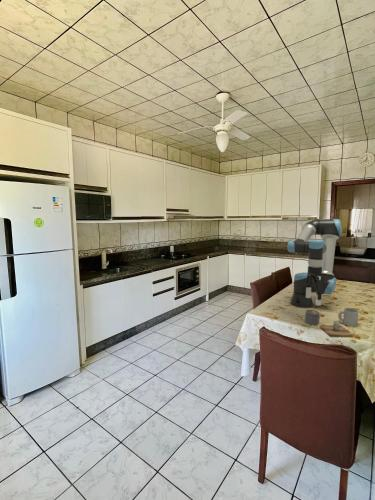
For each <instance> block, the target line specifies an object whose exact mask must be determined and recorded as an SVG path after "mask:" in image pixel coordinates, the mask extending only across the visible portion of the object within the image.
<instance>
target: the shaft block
mask: <svg viewBox="0 0 375 500" xmlns="http://www.w3.org/2000/svg"><path fill="white" fill-rule="evenodd" d="M319 328H320V329H321V330H322V331H323V332H324V333H325V334H326V335H328V337H329V338H354V334H353V333H352V332H350V331H349V330H348V329H346V328H345V327H344V326H342V325H340V320H335V319H334V320H333V324H332V325H324V324H323V325H321V324H319Z"/></svg>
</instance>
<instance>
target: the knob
mask: <svg viewBox="0 0 375 500" xmlns="http://www.w3.org/2000/svg"><path fill="white" fill-rule="evenodd" d="M304 315H305V316H304V322H305V324H306V325H308V324H309V326H312V325H314V326H313V327H315V325H317V326H319V325H320V312H319V311H318V310H314V309H306V310H305V313H304ZM318 324H319V325H318Z"/></svg>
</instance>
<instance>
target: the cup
mask: <svg viewBox="0 0 375 500" xmlns="http://www.w3.org/2000/svg"><path fill="white" fill-rule="evenodd" d="M342 314H343V318H342ZM337 317H338V320H339V321H341V322H342V323H343V325H344V324H345V326H346V325H347V327H350V326H352V327H351V328H356V327H357V326H358V324H359V323H358V322H359V310H358V309H356V308H351V307H345V308H344V309H343V310H339V312H338V314H337ZM355 326H356V327H355Z"/></svg>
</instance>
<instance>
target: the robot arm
mask: <svg viewBox="0 0 375 500" xmlns="http://www.w3.org/2000/svg"><path fill="white" fill-rule="evenodd" d="M342 231H343V229H342V221H341V219H337V218H325V219H324V218H320V219H319V218H316V219H312V220H310V221H308V222H306V223H304V225H303V226H302V227H301V231H300V233H299V234H298V235H297V237H296V238H295V239H294V240H289V241H288V242H287V246H286V248H287V251H288V252H289V253H293V254H295V253H296V254H308V260H307V265H308V266H307V272H298V273H295V274H294V277H293V293H292V296H291V298H290V302H289V303H290V304H291V305H292V306H294V307H297V308H312V307H314V301H313V298H312V293H315V306H321V305H322V295H333V293H334V292H335V289H336V287H337V280H338V279H337V278H336V277H335V274H334V273H333V270H334V269H333V268H334V262H335V260H334V259H335V251H336V244H337V243H336V241H337V240H339V239H340V236H342V233H343V232H342ZM316 235H317V236H320V238H321V239H311V238H312V237H313V236H316Z"/></svg>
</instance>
